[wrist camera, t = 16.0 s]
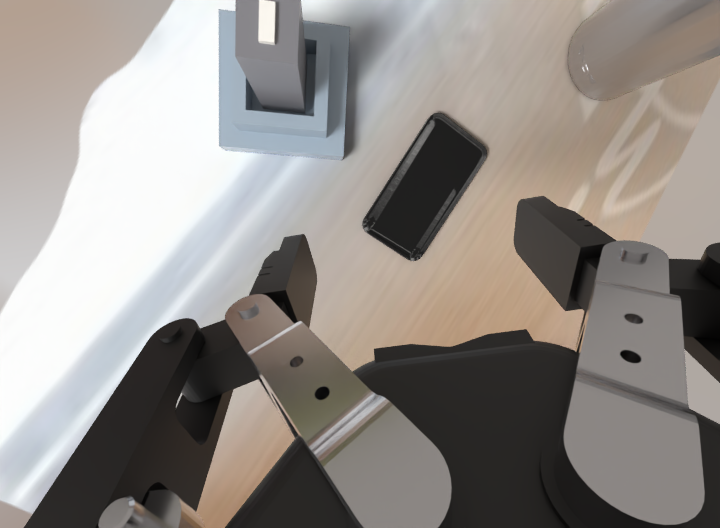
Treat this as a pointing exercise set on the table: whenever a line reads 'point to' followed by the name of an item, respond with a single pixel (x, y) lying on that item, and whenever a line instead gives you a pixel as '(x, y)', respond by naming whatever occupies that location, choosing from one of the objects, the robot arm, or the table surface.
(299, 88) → the block
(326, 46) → the outlet box
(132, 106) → the table surface
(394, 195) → the phone
